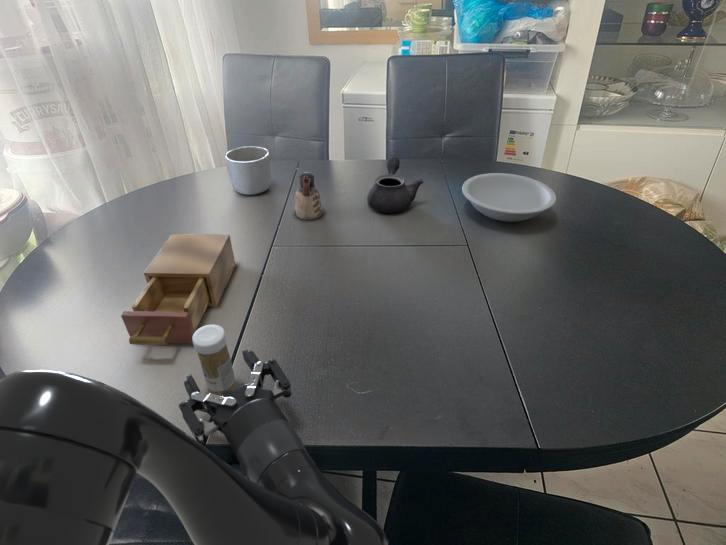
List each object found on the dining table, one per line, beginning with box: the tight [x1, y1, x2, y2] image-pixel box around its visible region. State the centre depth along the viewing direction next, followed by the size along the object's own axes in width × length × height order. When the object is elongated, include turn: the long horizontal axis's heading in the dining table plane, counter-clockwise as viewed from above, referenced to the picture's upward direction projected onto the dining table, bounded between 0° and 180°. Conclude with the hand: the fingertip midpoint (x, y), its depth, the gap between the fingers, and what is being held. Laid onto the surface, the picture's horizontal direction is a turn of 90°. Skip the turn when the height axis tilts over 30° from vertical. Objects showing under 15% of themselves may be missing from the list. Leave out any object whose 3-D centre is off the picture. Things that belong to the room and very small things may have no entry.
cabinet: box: [143, 233, 237, 308], centre depth 93 cm, size 15×13×8 cm
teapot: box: [366, 156, 424, 213], centre depth 125 cm, size 19×15×10 cm
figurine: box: [294, 171, 323, 221], centre depth 118 cm, size 7×7×12 cm
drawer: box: [120, 276, 211, 346], centre depth 82 cm, size 18×11×6 cm, turn 178°
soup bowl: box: [461, 172, 557, 223], centre depth 120 cm, size 24×24×7 cm
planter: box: [224, 146, 272, 196], centre depth 131 cm, size 12×12×11 cm
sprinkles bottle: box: [192, 324, 238, 396], centre depth 68 cm, size 5×5×14 cm
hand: (218, 366), depth 67 cm, fingers open, 8 cm apart
